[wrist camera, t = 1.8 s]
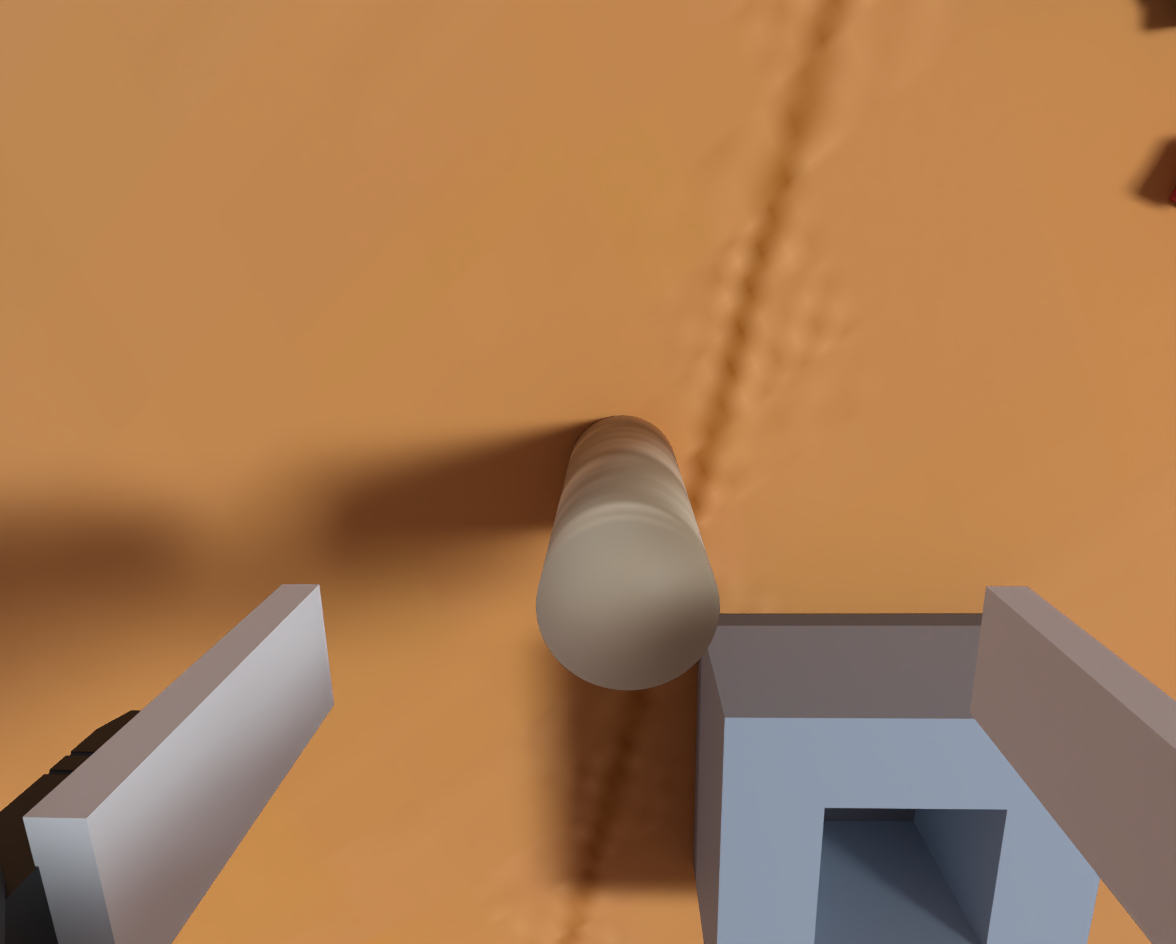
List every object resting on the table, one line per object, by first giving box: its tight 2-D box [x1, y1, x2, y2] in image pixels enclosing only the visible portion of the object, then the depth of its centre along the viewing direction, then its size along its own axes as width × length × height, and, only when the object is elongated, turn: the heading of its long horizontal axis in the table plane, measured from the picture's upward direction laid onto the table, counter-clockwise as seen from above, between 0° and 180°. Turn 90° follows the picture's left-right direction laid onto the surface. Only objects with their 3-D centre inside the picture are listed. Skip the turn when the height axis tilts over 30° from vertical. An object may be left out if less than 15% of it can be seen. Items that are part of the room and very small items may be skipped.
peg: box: [536, 416, 720, 691], centre depth 22 cm, size 4×4×12 cm
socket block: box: [694, 614, 1100, 944], centre depth 27 cm, size 12×12×7 cm
